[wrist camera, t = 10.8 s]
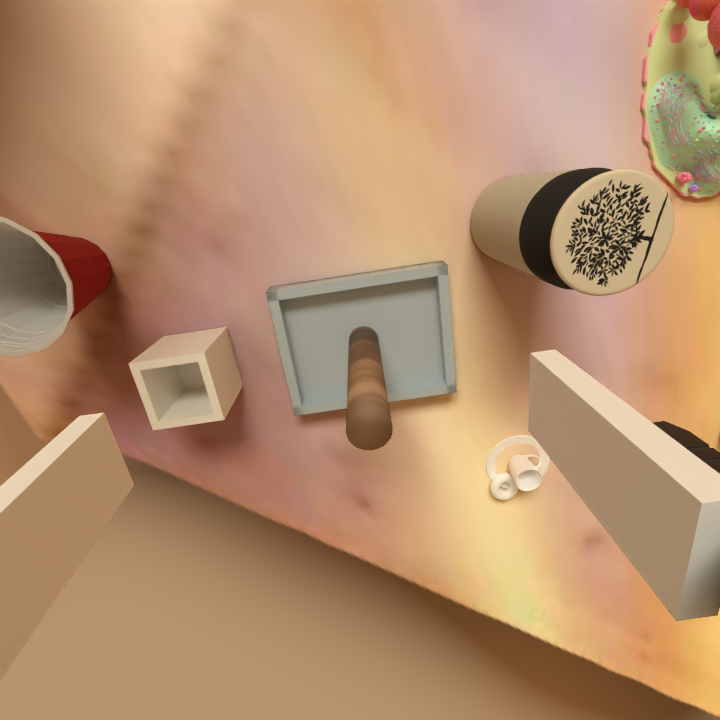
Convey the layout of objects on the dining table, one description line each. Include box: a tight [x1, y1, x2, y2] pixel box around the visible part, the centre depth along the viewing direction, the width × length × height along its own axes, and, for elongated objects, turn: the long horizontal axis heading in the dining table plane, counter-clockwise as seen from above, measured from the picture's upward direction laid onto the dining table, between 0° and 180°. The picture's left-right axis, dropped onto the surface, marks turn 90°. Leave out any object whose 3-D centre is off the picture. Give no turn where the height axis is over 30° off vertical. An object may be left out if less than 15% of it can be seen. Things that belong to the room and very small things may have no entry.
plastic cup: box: [0, 217, 112, 357], centre depth 38 cm, size 11×11×12 cm
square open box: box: [129, 327, 243, 430], centre depth 44 cm, size 7×7×8 cm
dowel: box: [346, 326, 392, 450], centre depth 38 cm, size 3×3×18 cm
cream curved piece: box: [486, 435, 550, 500], centre depth 52 cm, size 9×8×4 cm
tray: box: [266, 261, 456, 416], centre depth 46 cm, size 14×18×2 cm
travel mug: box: [470, 168, 674, 296], centre depth 34 cm, size 8×8×18 cm
